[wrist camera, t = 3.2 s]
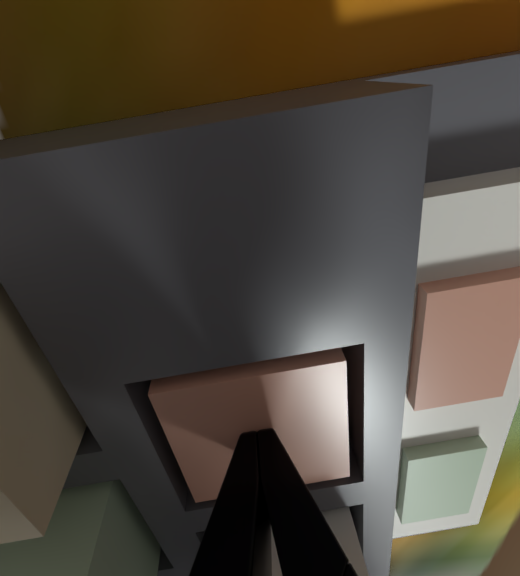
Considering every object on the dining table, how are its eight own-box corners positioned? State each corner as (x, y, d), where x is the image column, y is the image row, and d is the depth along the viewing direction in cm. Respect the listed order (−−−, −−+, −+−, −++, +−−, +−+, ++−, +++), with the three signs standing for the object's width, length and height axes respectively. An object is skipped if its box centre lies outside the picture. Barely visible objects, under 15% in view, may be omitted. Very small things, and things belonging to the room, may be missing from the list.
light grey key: (235, 563, 14) (238, 670, 12) (211, 503, 12) (208, 620, 10) (345, 544, 14) (371, 647, 12) (341, 481, 12) (373, 592, 10)
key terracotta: (201, 415, 13) (195, 502, 10) (166, 315, 10) (147, 394, 8) (324, 395, 13) (349, 476, 10) (316, 289, 10) (346, 360, 8)
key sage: (39, 552, 13) (-7, 674, 10) (-31, 481, 10) (-113, 614, 8) (162, 531, 13) (147, 647, 10) (119, 456, 10) (85, 581, 8)
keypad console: (110, 564, 20) (86, 669, 16) (-203, 174, 9) (-478, 242, 5) (457, 506, 20) (506, 598, 16) (577, 40, 9) (808, 20, 5)
